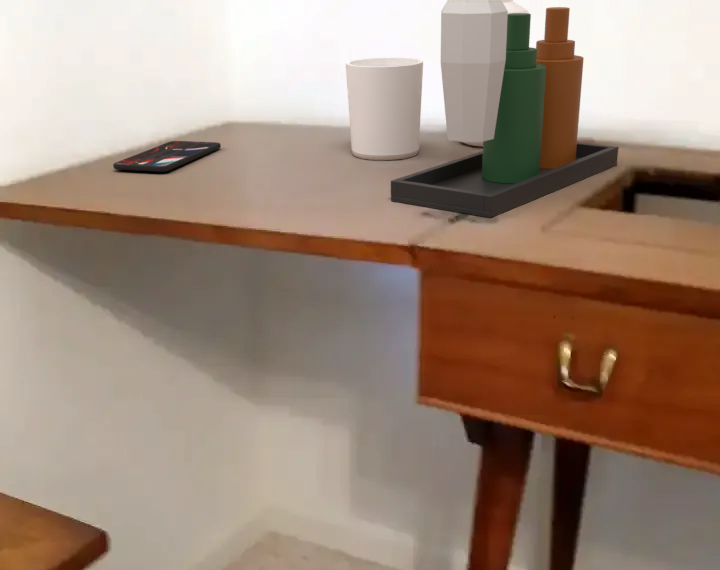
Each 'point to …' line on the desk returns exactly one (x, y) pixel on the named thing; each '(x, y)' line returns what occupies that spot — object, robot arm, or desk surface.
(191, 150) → the smartphone
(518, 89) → the green bottle
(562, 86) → the amber bottle
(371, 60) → the mug
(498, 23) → the low poly bottle
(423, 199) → the tray
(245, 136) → the desk surface
